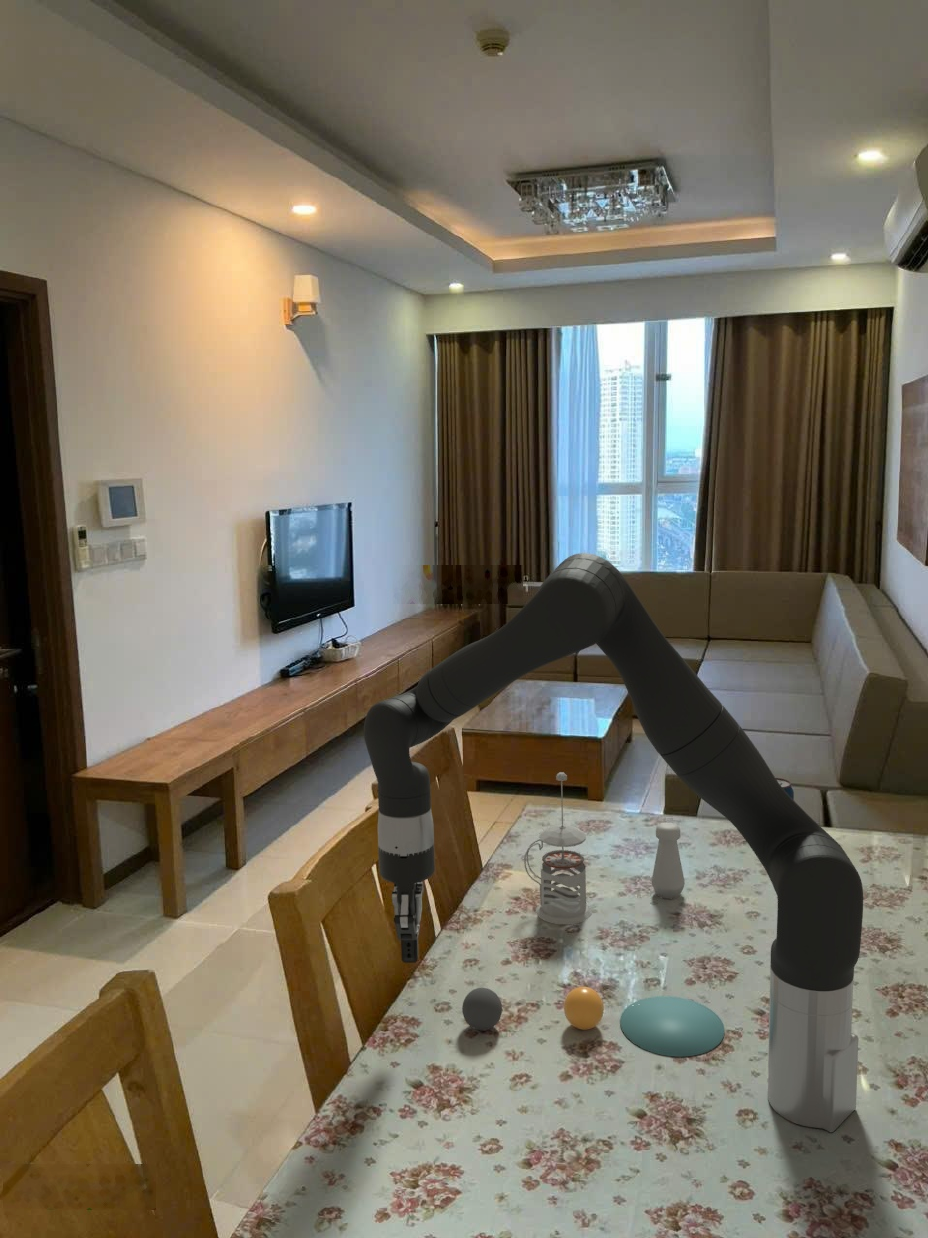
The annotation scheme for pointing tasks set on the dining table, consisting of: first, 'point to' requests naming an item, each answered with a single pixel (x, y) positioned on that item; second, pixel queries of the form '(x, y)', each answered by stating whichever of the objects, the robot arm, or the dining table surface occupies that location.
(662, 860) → the salt shaker
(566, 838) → the french press
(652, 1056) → the dining table surface
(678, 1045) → the teal mark
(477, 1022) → the charcoal ball
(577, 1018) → the orange ball
